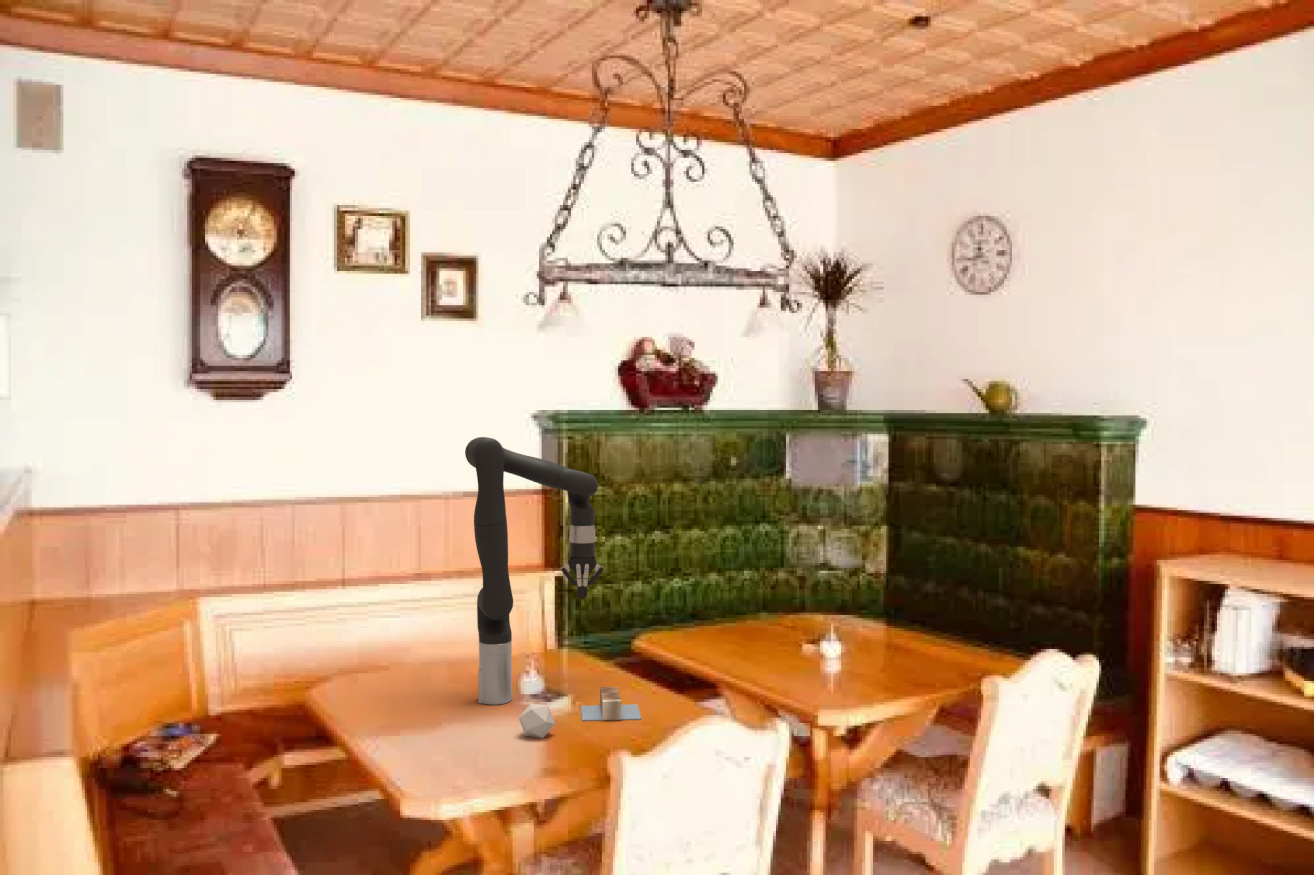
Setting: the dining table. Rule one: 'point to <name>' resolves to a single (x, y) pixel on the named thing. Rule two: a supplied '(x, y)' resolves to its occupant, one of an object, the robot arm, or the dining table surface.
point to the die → (536, 720)
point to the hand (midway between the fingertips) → (582, 598)
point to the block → (610, 703)
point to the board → (595, 713)
